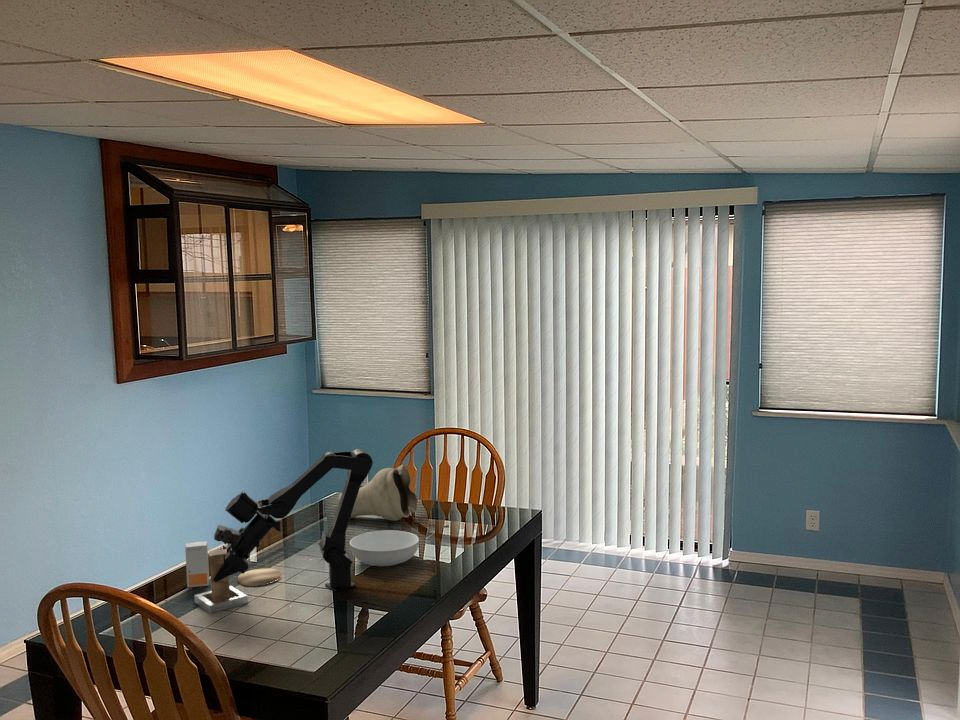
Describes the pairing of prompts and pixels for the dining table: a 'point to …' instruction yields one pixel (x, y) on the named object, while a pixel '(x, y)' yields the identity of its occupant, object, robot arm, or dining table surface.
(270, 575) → the cork coaster
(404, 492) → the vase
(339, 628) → the dining table surface
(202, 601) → the grey square frame
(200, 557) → the skincare box
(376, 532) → the serving bowl
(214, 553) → the tan tall block
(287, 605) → the dining table surface
